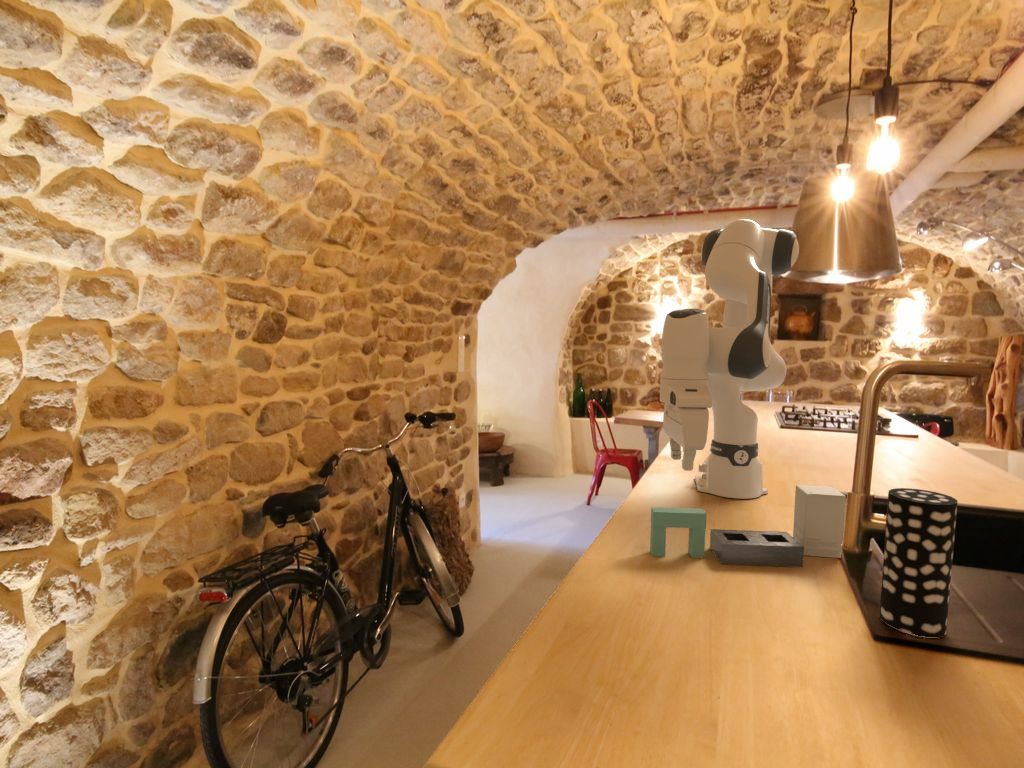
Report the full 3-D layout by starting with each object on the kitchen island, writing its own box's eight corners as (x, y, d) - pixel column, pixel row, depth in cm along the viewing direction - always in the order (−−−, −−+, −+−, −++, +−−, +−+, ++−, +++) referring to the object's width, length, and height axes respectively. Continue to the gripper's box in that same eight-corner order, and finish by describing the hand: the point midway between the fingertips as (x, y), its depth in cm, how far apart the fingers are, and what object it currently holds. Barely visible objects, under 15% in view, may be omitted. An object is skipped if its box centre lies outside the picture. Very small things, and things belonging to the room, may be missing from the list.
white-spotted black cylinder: (886, 605, 91) (895, 485, 90) (950, 624, 86) (961, 496, 84) (873, 623, 86) (882, 495, 84) (940, 645, 80) (952, 508, 78)
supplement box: (843, 559, 110) (847, 496, 109) (802, 555, 112) (805, 493, 110) (829, 545, 117) (833, 485, 116) (791, 542, 119) (794, 483, 118)
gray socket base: (709, 548, 115) (710, 529, 115) (785, 550, 114) (786, 531, 114) (721, 564, 107) (722, 543, 107) (802, 567, 106) (804, 546, 106)
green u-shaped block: (649, 550, 113) (651, 507, 113) (700, 552, 113) (702, 508, 112) (652, 556, 110) (653, 511, 110) (704, 558, 110) (706, 513, 109)
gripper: (656, 388, 119) (654, 453, 120) (678, 398, 99) (676, 476, 100) (687, 388, 119) (685, 453, 120) (715, 399, 98) (712, 477, 99)
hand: (681, 464), depth 110 cm, fingers open, 8 cm apart
